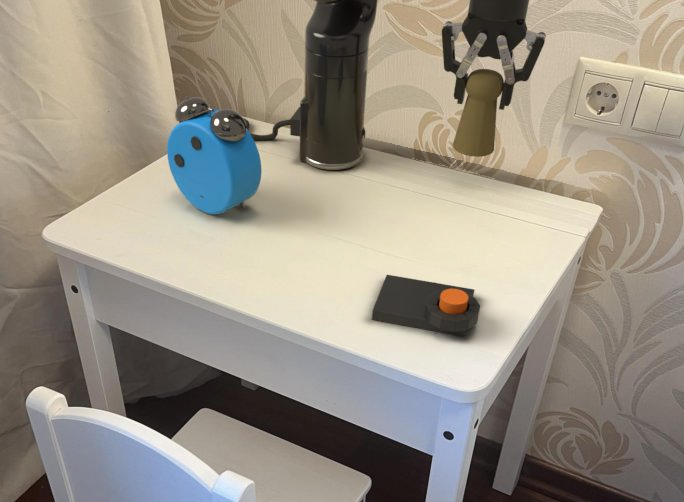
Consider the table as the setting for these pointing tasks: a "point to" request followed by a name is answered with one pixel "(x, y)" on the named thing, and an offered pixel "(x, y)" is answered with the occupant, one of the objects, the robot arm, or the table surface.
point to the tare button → (453, 301)
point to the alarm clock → (213, 157)
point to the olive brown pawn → (479, 114)
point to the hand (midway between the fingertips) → (480, 104)
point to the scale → (422, 306)
